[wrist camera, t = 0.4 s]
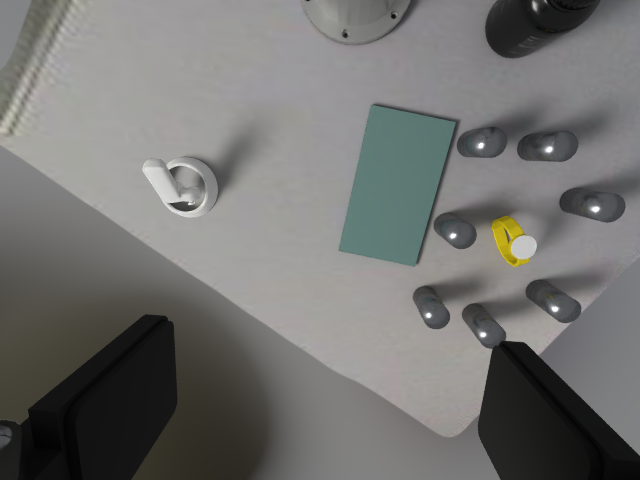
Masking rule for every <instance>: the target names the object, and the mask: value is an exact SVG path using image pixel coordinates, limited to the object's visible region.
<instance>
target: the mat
mask: <svg viewBox="0 0 640 480" xmlns="http://www.w3.org/2000/svg"><path fill="white" fill-rule="evenodd" d="M455 124H456V122H453V121H448V120H443V119H438V118H433V117H428V116H423V115H419V114H414V113H409V112H404V111H399V110H394V109H389V108H385V107H380V106H375V105H371V108H370V112H369V117H368V121H367V126H366V130H365V135H364V139H363V144H362V148H361V153H360V157H359V162H358V166H357V171H356V175H355V180H354V184H353V189H352V193H351V198H350V202H349V207H348V211H347V216H346V220H345V225H344V229H343V234H342V238H341V243H340V247H339V251H342V252H347V253H352V254H357V255H361V256H366V257H371V258H376V259H381V260H386V261H391V262H395V263H400V264H405V265H410V266H415V264H416V261H417V257H418V254H419V250H420V247H421V243H422V240H423V236H424V233H425V229H426V226H427V222H428V219H429V215H430V212H431V208H432V205H433V201H434V198H435V194H436V191H437V187H438V184H439V180H440V177H441V173H442V170H443V166H444V162H445V159H446V155H447V152H448V148H449V145H450V141H451V138H452V134H453V131H454V127H455Z"/></svg>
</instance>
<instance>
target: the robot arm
mask: <svg viewBox="0 0 640 480" xmlns="http://www.w3.org/2000/svg"><path fill="white" fill-rule="evenodd" d="M301 2H302V5H303V8H304V11H305V13H306V14H307V16H308V18H309V20H310V21H311V23H312V24H313V25H314V26H315V27H316V29H317V30H318V31H320V32H321V33H322V34H323V35H325V36H326V37H327V38H329V39H331V40H333V41H335V42H338V43H342V44H346V45H361V44H367V43H370V42H373V41H375V40H378V39H380V38H381V37H383V36H384V35H386V34H387V33H389V32H390V31H391V30H392V29H393V28H394V27H395V26H396V25H397V24H398V23H399V21H400V20H401V19H402V17H403V16H404V14H405V12H406V10H407V9H408V7H409V4H410V2H411V0H310V1H306V0H301ZM392 15H394V16H395V19H392V18H391V16H392ZM344 34H347V35H348V37H347V38H344V37H343V35H344ZM176 384H177V383H176V363H175V343H174V325H173V322H171V321H168V318H167V317H166V316H160V315H144V316H142V317H141V318H140V319H139V320H138V321H136V322H135V323H134V324H133V325H131V326H130V327H129V328H128V329H126V330H125V331H124V332H123V333H122V334H120V335H119V336H118V337H117V338H115V339H114V340H113V341H112V342H111V343H109V344H108V345H107V346H105V347H104V348H103V349H102V350H101V351H99V352H98V353H97V354H96V355H94V356H93V357H92V358H91V359H89V360H88V361H87V362H86V363H85V364H83V365H82V366H81V367H80V368H78V369H77V370H76V371H75V372H74V373H73V374H71V375H70V376H69V377H67V378H66V379H65V380H64V381H62V382H61V383H60V384H59V385H57V386H56V387H55V388H54V389H52V390H51V391H50V392H49V393H48V394H46V395H45V396H44V397H43V398H41V399H40V400H39V401H38V402H36V403H35V404H34V405H33V406H32V407H30V408H29V409H28V413H29V418H28V419H26V420H25V421H24V422H23V423H22V424H21V425H20V424H18V423H17V422H15V421H10V420H0V480H131V479H132V477H133V476H134V474H135V473H136V471H137V470H138V468H139V467H140V465H141V463H142V462H143V460H144V459H145V457H146V456H147V454H148V453H149V451H150V449H151V448H152V446H153V445H154V443H155V442H156V440H157V439H158V437H159V435H160V434H161V432H162V431H163V429H164V428H165V426H166V425H167V423H168V421H169V420H170V418H171V417H172V415H173V413H174V412H175V409H176V405H177V385H176ZM478 433H479V437H480V440H481V442H482V444H483V446H484V448H485V450H486V452H487V454H488V456H489V457H490V459H491V462H492V464H493V465H494V468H495V469H496V471H497V473H498V475H499V477H500V479H501V480H640V456H639V455H638V454H637V453H636V452H635V451H634V450H633V449H632V448H631V447H630V446H629V445H628V444H627V443H626V442H625V441H624V440H623V439H622V438H621V437H620V436H619V435H618V434H617V433H616V432H615V431H614V430H613V429H612V428H611V427H610V426H609V425H608V424H607V423H606V422H605V421H604V420H603V419H602V418H601V417H600V416H599V415H598V414H597V413H596V412H595V411H594V410H593V409H591V407H590V406H589V405H588V404H587V403H586V402H585V401H584V400H583V399H582V398H581V397H580V396H579V395H577V394H576V393H575V392H574V391H573V390H572V389H571V388H570V387H569V386H568V385H567V384H566V383H565V382H564V381H563V380H562V379H561V378H560V377H559V376H558V375H557V374H556V373H555V372H554V371H553V370H552V369H551V368H550V367H549V366H548V365H547V364H546V363H545V362H544V361H543V360H542V359H541V358H540V357H539V356H538V355H537V354H536V353H535V352H534V351H533V350H532V349H531V348H530V347H529V346H528V345H527V344H525V343H524V342H512V341H501V342H500V343H499V345H498V346H497V345H495V346H494V347H493V350H492V354H491V359H490V365H489V370H488V375H487V380H486V385H485V391H484V396H483V401H482V406H481V411H480V417H479V422H478Z"/></svg>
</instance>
